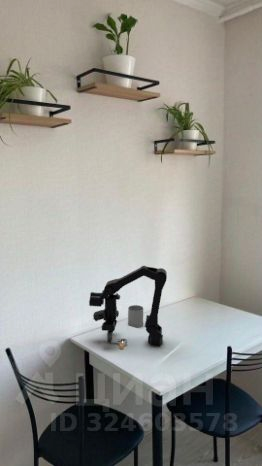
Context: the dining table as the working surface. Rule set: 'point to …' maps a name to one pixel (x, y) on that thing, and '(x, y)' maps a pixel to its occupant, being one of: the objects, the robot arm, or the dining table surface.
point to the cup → (135, 316)
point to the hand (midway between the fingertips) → (110, 335)
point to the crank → (109, 339)
